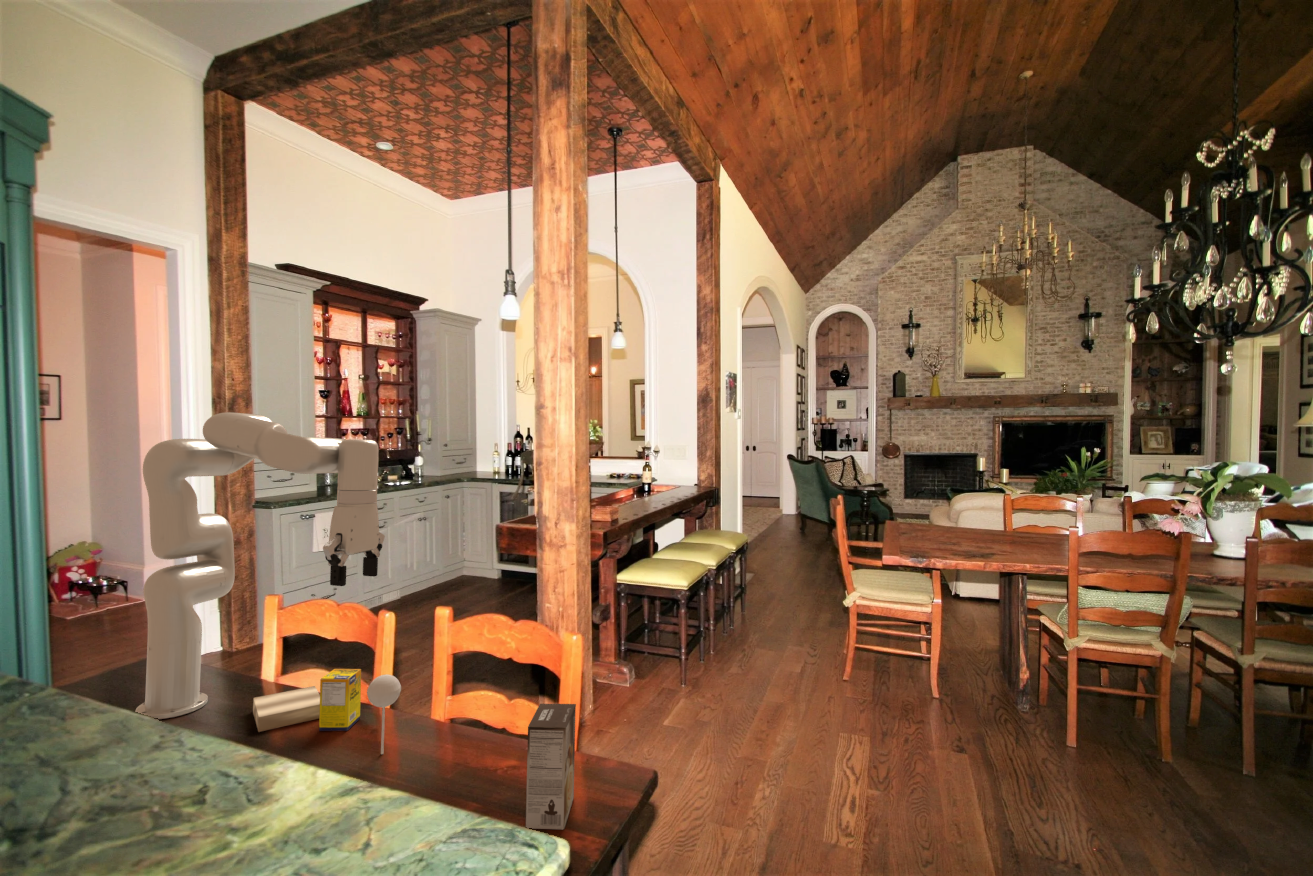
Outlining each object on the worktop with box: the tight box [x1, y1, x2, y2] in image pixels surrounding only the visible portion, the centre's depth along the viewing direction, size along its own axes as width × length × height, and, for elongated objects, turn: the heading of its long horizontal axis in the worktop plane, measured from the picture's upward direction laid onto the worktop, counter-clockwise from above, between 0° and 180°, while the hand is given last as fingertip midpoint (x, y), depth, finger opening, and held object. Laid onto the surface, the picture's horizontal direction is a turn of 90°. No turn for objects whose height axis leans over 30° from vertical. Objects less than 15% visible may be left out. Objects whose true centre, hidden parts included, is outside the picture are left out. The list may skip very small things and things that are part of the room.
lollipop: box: [366, 674, 402, 755], centre depth 117 cm, size 6×6×15 cm
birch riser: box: [252, 685, 320, 733], centre depth 133 cm, size 12×12×3 cm
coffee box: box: [525, 703, 577, 830], centre depth 100 cm, size 9×6×16 cm
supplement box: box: [318, 668, 362, 732], centre depth 129 cm, size 6×6×11 cm
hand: (354, 580), depth 127 cm, fingers open, 9 cm apart
